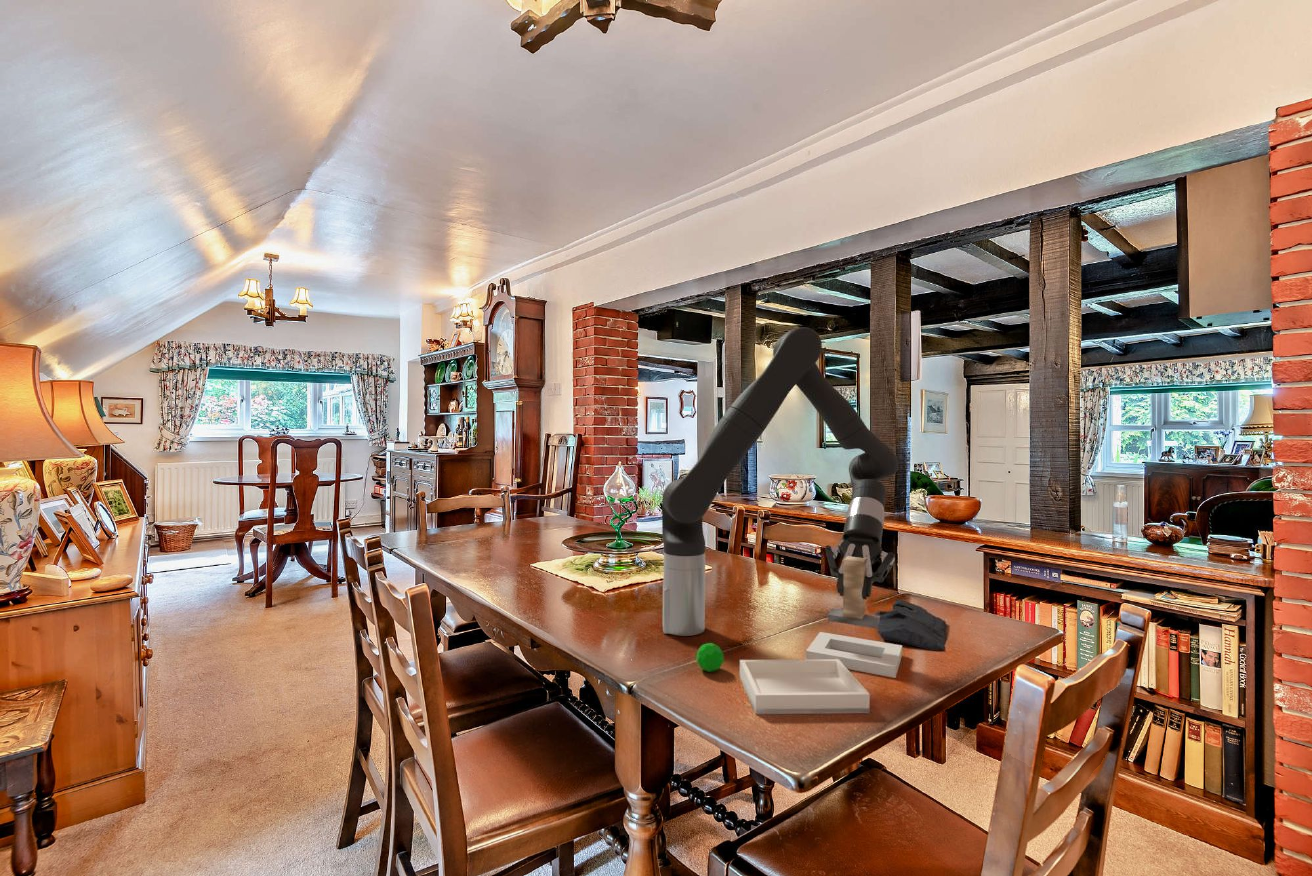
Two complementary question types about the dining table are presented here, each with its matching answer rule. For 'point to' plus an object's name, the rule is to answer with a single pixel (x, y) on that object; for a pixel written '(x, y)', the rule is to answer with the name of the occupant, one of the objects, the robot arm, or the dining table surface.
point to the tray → (802, 687)
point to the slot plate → (858, 662)
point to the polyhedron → (709, 657)
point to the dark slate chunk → (912, 626)
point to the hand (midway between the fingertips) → (852, 595)
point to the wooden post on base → (854, 596)
